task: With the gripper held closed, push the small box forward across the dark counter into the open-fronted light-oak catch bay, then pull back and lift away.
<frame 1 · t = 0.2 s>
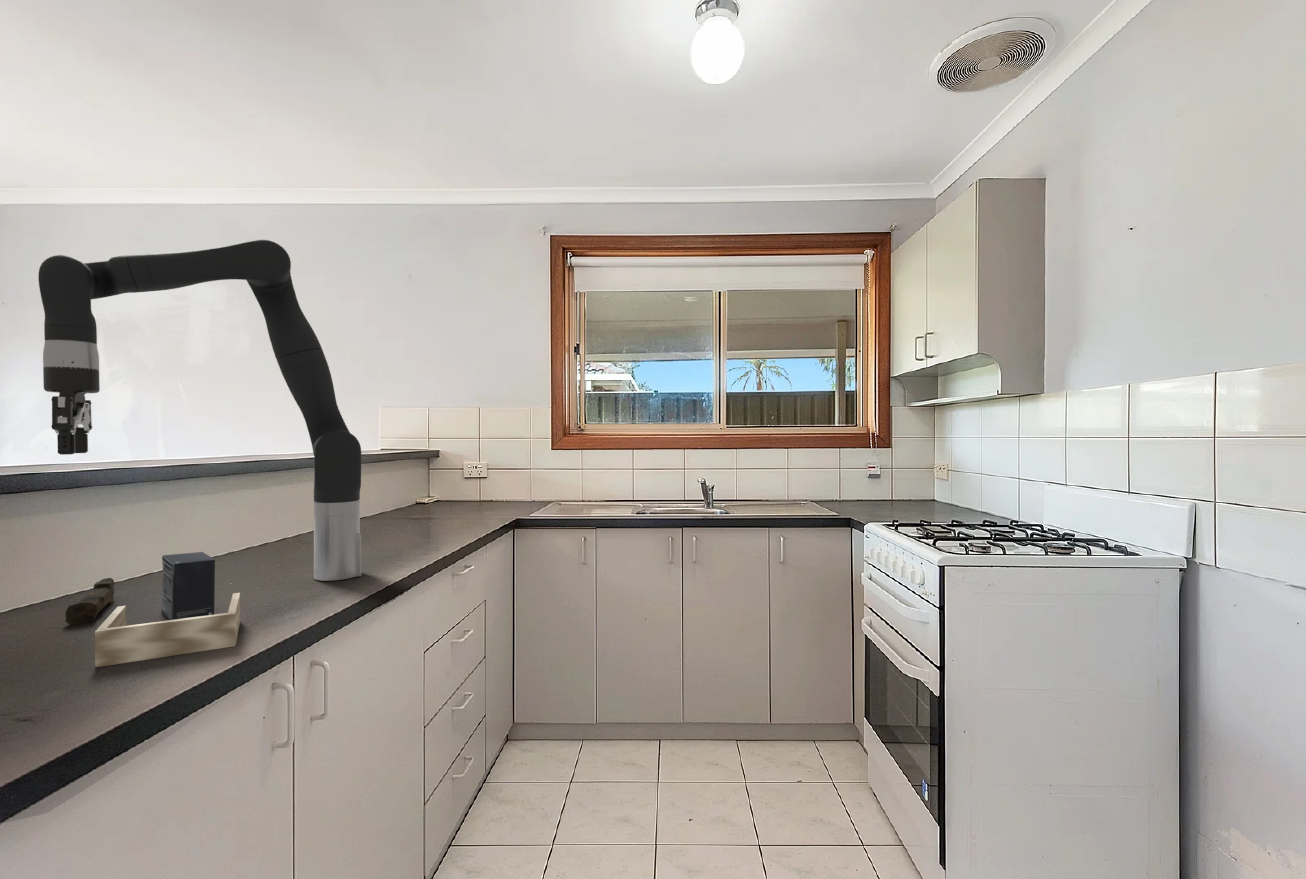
hand: (73, 453, 112), 29 cm above the countertop, fingers open, 8 cm apart
catch bay: (176, 640, 94), on the countertop
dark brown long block: (92, 613, 110), on the countertop
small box: (188, 616, 107), on the countertop
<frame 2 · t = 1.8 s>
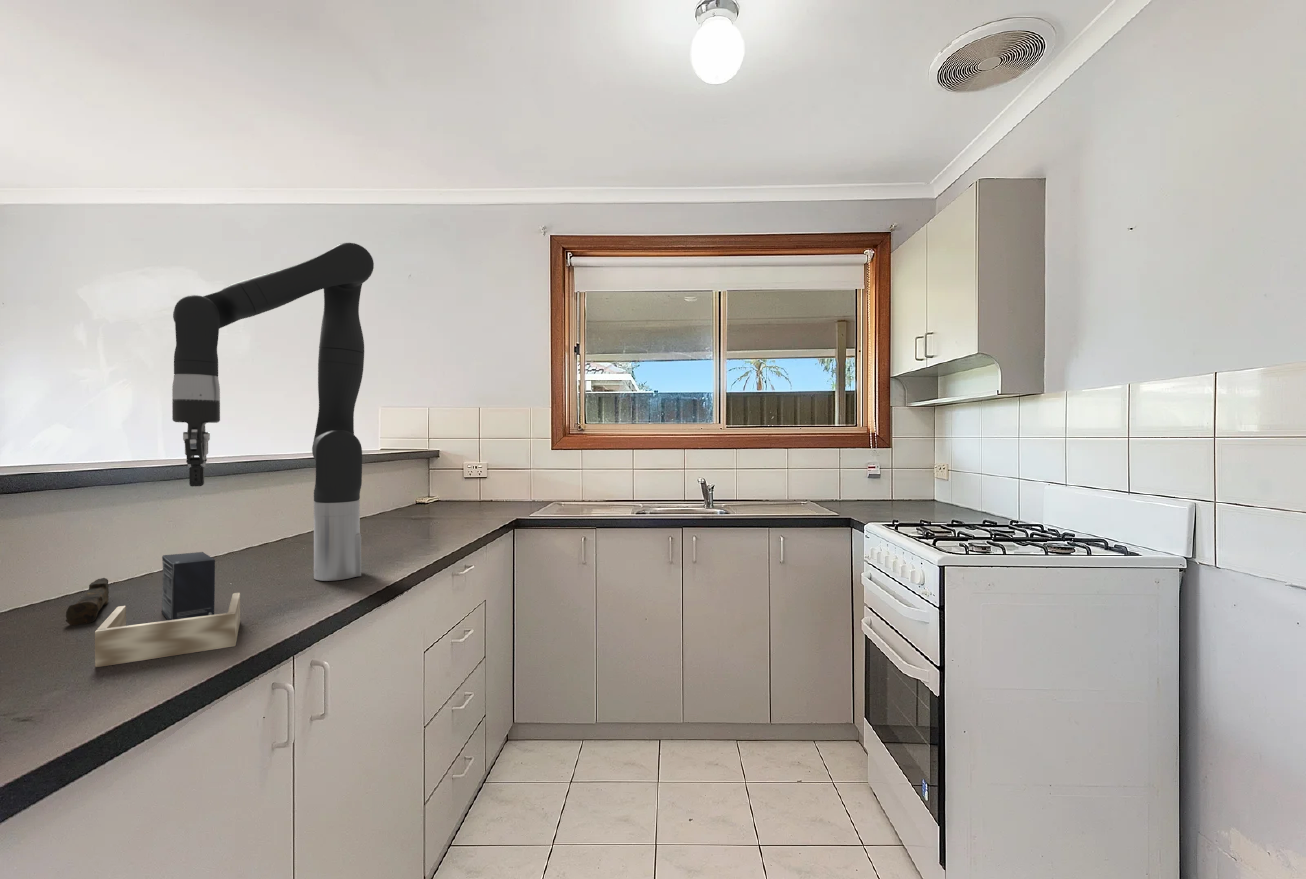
hand: (196, 485, 119), 22 cm above the countertop, fingers closed
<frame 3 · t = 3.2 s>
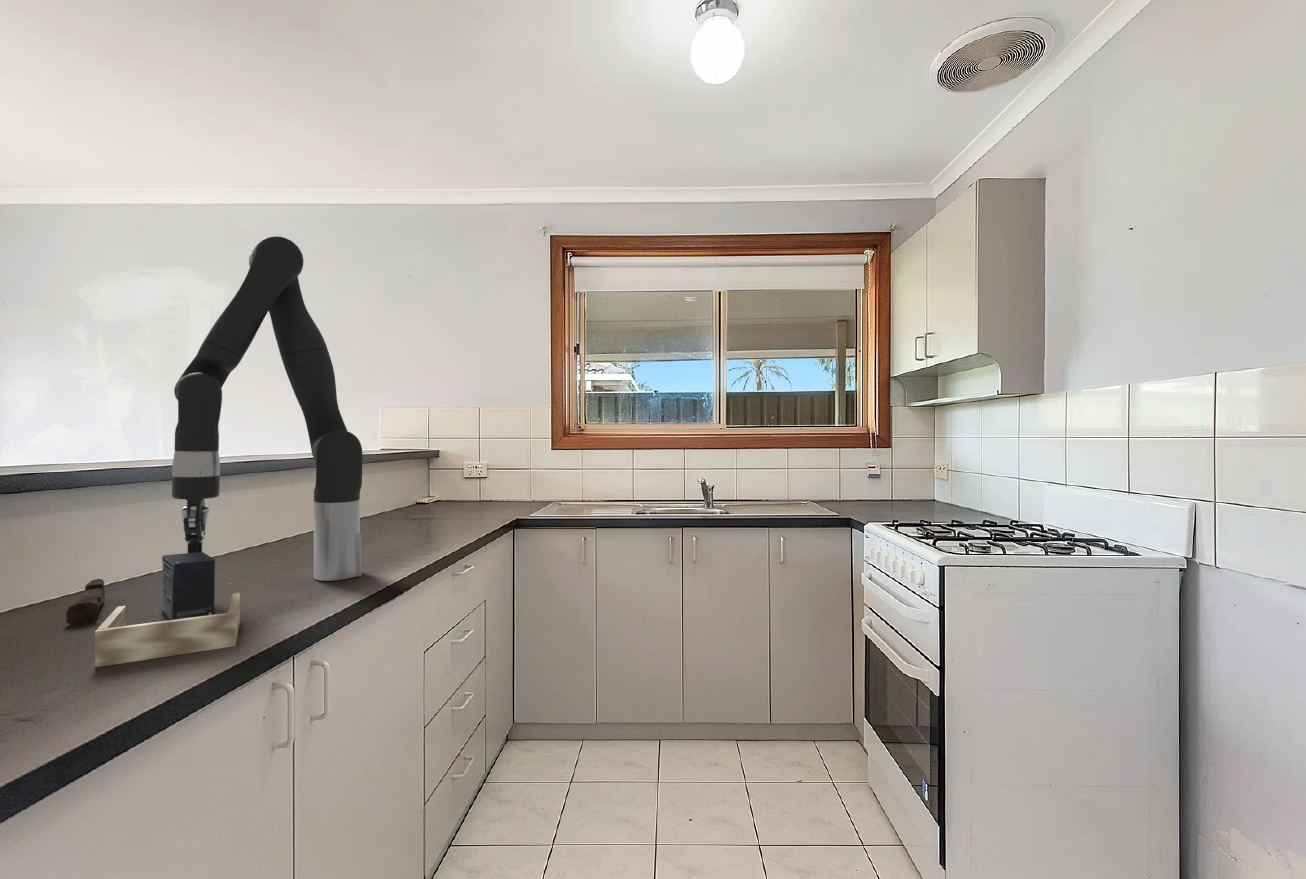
hand: (194, 561, 119), 7 cm above the countertop, fingers closed
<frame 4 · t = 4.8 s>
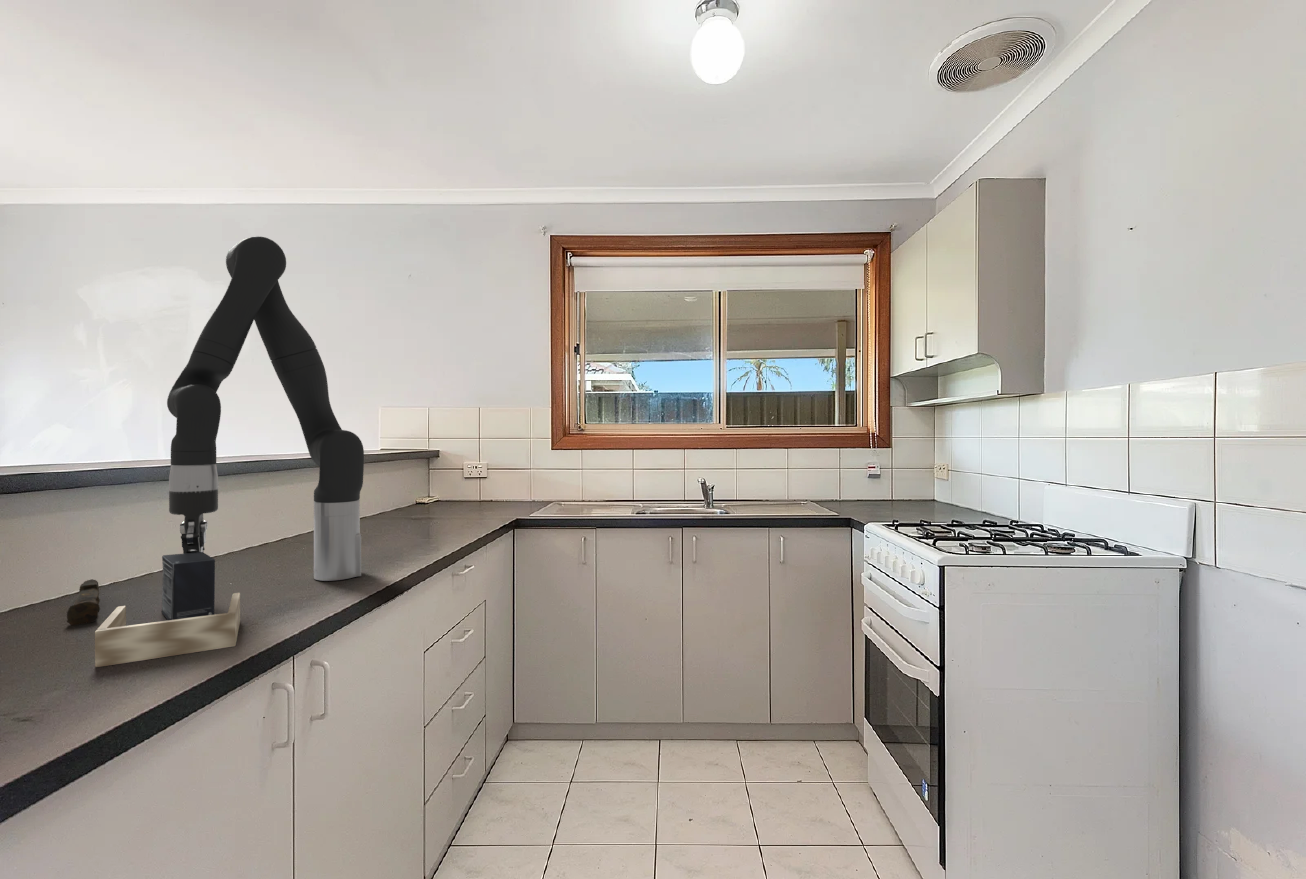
hand: (194, 577, 116), 5 cm above the countertop, fingers closed
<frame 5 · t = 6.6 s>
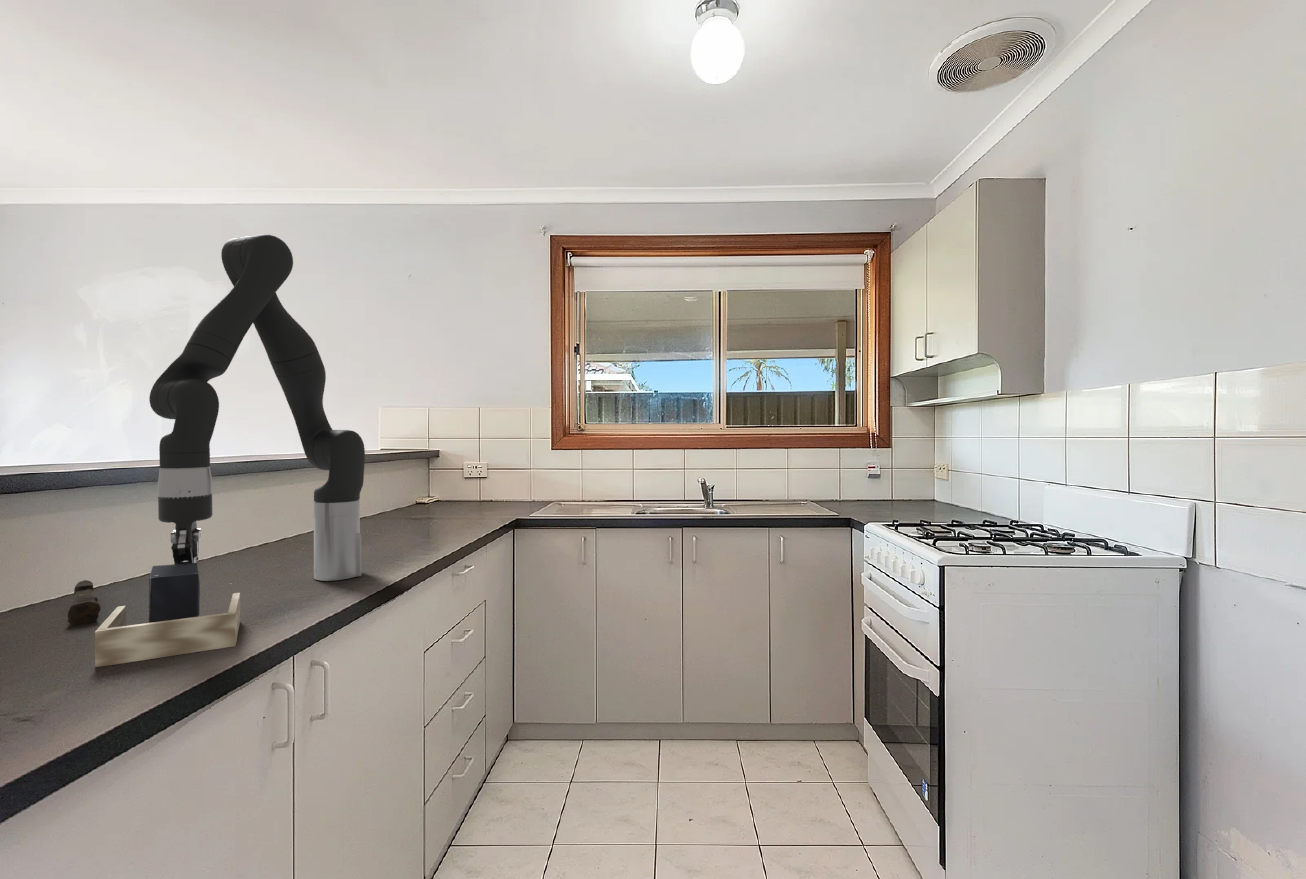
hand: (187, 590, 106), 5 cm above the countertop, fingers closed
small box: (175, 634, 98), on the countertop, touching hand
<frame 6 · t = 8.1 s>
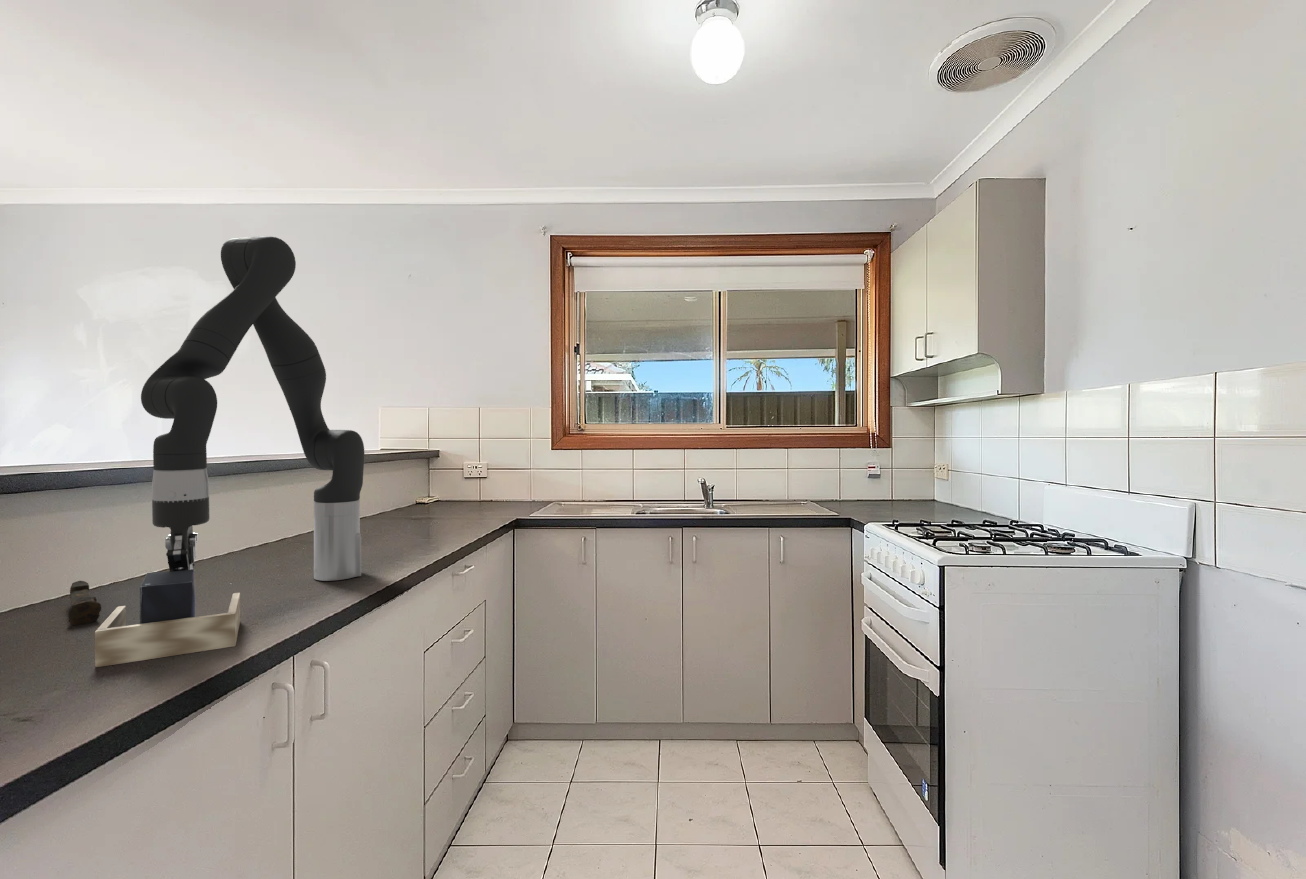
hand: (183, 598, 101), 5 cm above the countertop, fingers closed
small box: (168, 645, 93), on the countertop, touching catch bay, hand
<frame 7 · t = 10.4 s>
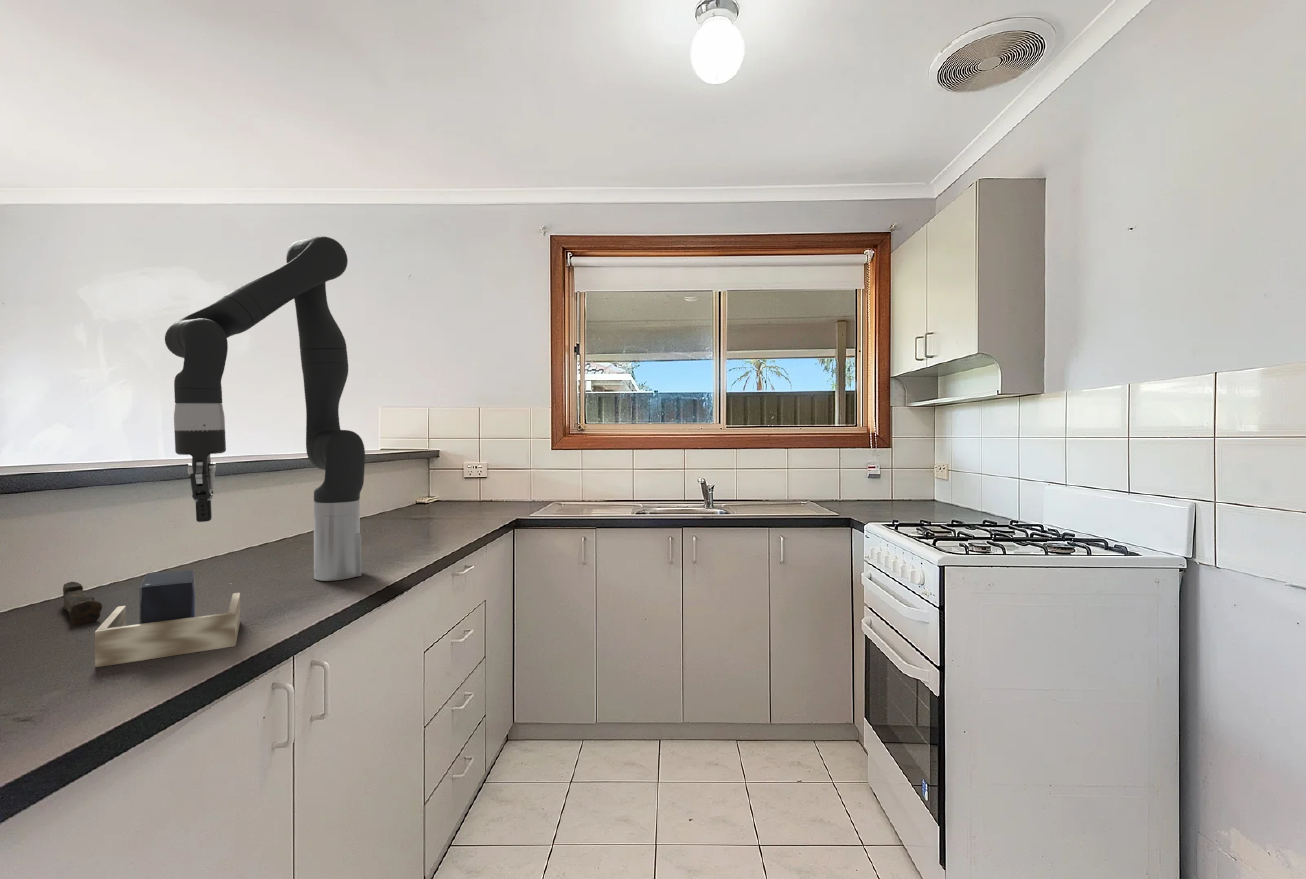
hand: (204, 520, 112), 16 cm above the countertop, fingers closed
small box: (168, 645, 93), on the countertop
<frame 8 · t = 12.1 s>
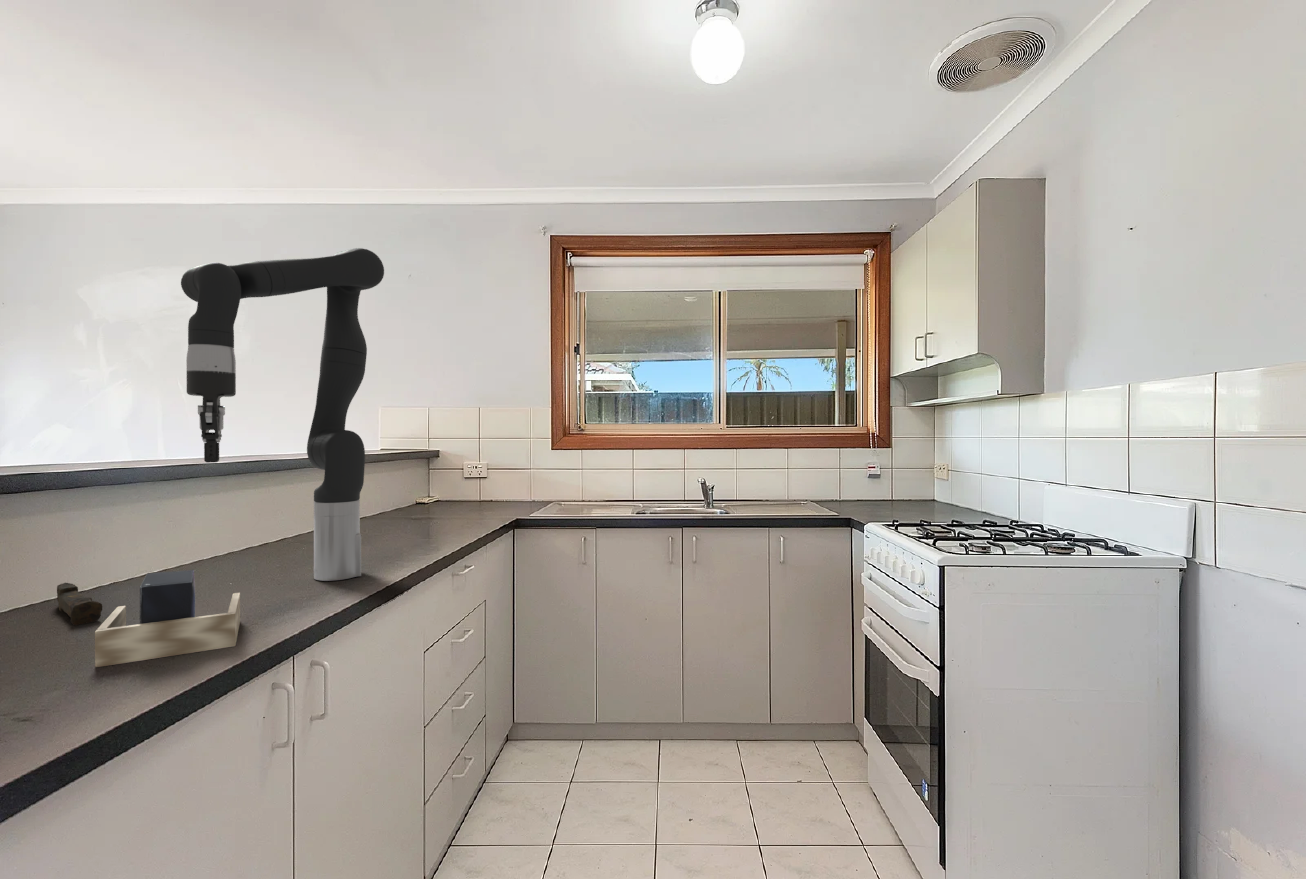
hand: (211, 462, 114), 27 cm above the countertop, fingers closed
at the end: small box 1.1 cm off-centre on the catch bay, point 0.0 cm above the catch bay's base; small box tilted 0°; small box moved 17.1 cm from its start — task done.
